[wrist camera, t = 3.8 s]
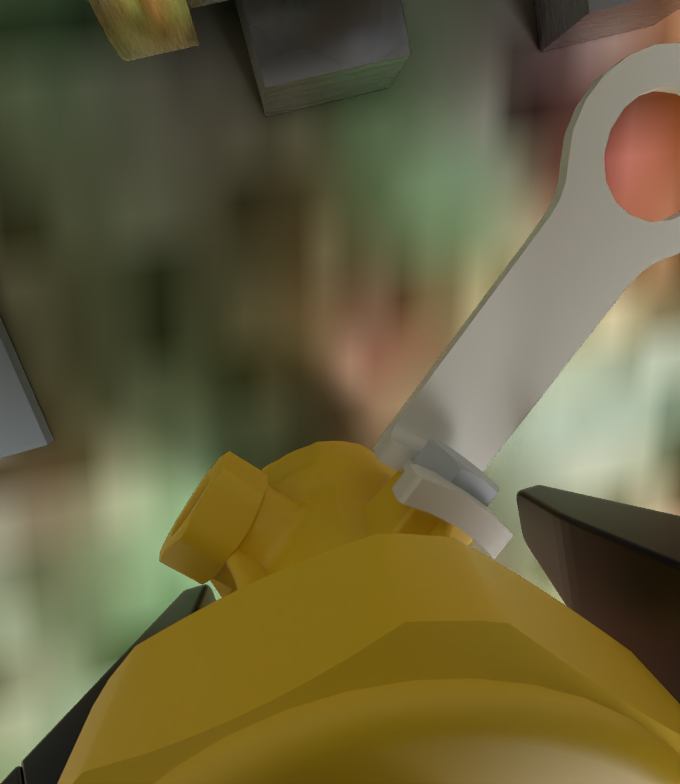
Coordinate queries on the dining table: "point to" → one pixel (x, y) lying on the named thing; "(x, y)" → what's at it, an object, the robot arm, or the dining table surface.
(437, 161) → the dining table surface
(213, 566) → the pressure relief valve
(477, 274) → the dining table surface
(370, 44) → the shaft
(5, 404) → the seat mat
